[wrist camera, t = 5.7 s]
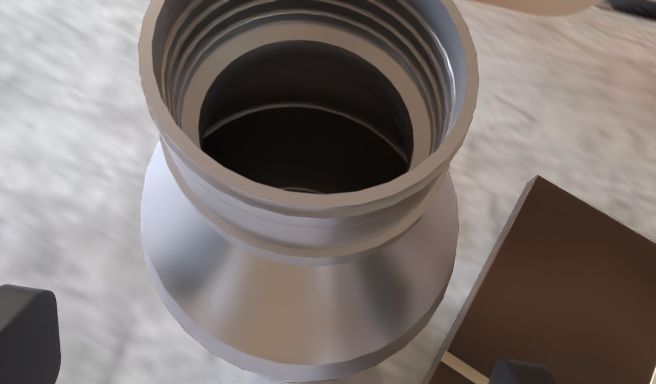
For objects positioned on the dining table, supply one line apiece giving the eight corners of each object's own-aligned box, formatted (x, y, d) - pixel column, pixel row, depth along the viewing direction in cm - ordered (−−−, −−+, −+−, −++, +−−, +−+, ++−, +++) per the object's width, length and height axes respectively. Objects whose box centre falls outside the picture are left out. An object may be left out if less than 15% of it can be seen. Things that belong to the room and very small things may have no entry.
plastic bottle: (286, 218, 25) (289, -229, 7) (386, 308, 24) (720, 58, 6) (192, 311, 23) (-168, 33, 5) (295, 416, 22) (350, 585, 4)
